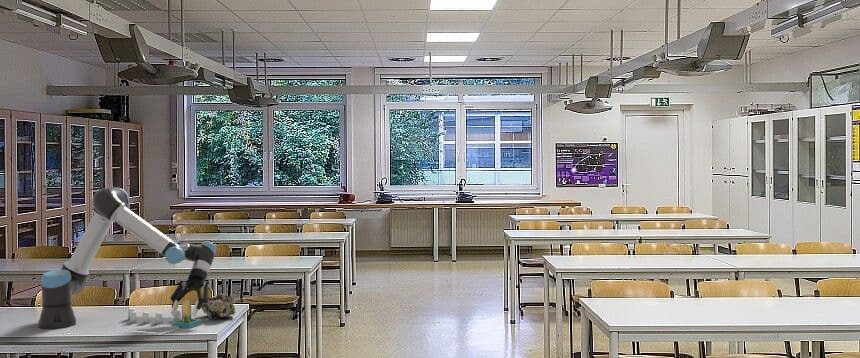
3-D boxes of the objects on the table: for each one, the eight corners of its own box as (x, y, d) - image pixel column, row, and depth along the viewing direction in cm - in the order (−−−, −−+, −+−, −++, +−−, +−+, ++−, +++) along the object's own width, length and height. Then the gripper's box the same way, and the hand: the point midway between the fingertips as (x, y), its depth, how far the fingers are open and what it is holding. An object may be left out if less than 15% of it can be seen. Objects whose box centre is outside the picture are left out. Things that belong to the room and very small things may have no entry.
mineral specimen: (233, 313, 390) (233, 291, 389) (236, 320, 373) (236, 297, 373) (198, 315, 385) (198, 293, 385) (200, 322, 368) (200, 300, 368)
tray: (171, 327, 359) (171, 322, 359) (184, 322, 368) (184, 318, 368) (188, 328, 356) (188, 323, 356) (201, 324, 364) (201, 319, 364)
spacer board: (117, 324, 365) (117, 312, 365) (134, 318, 379) (134, 306, 378) (170, 326, 360) (170, 314, 360) (186, 320, 374) (185, 308, 374)
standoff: (179, 324, 361) (179, 301, 361) (185, 323, 365) (185, 300, 365) (187, 325, 359) (187, 301, 359) (193, 323, 363) (193, 300, 363)
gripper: (224, 278, 374) (209, 320, 359) (179, 277, 378) (162, 319, 363) (219, 267, 369) (203, 310, 354) (173, 267, 373) (156, 309, 358)
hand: (183, 314), depth 359 cm, fingers open, 9 cm apart
